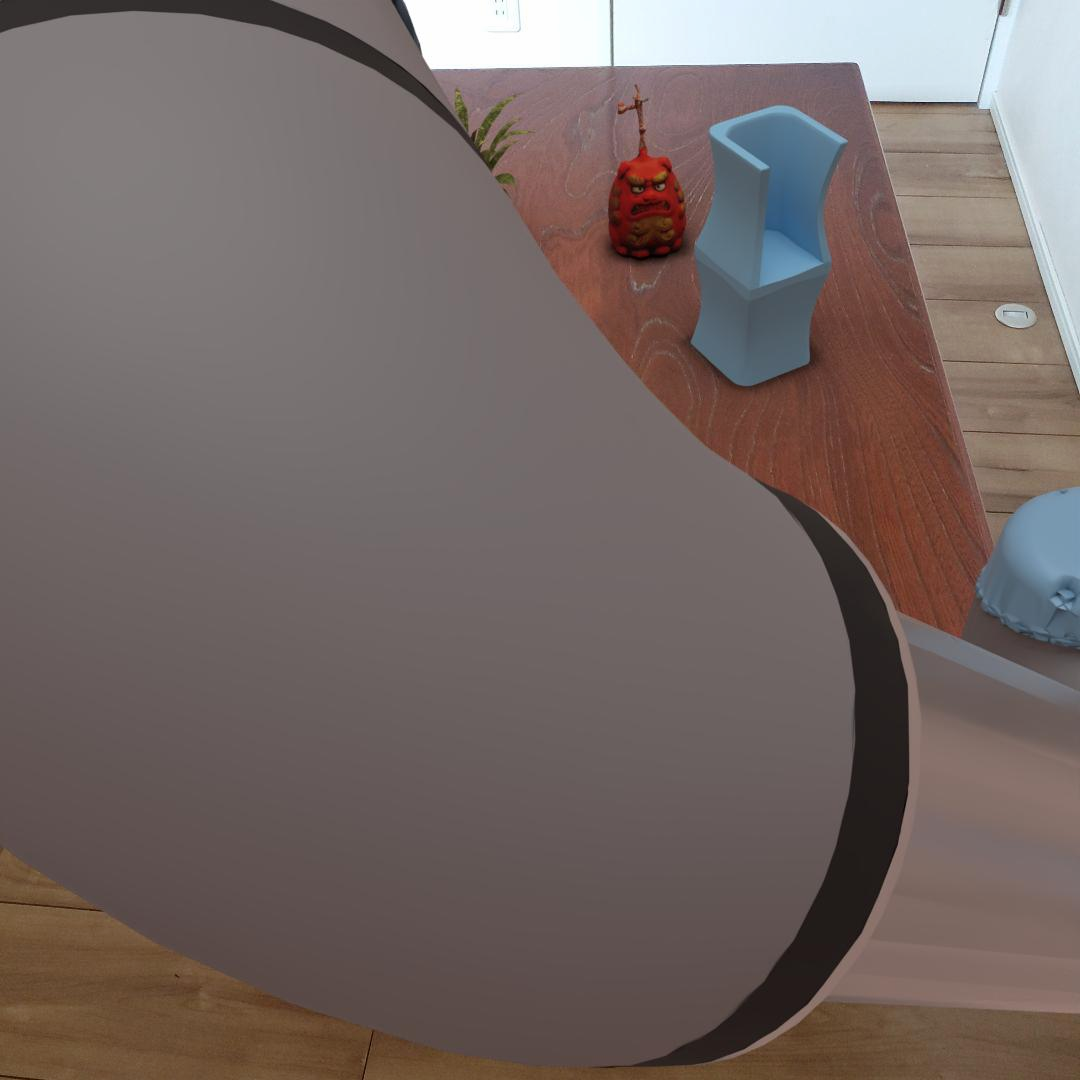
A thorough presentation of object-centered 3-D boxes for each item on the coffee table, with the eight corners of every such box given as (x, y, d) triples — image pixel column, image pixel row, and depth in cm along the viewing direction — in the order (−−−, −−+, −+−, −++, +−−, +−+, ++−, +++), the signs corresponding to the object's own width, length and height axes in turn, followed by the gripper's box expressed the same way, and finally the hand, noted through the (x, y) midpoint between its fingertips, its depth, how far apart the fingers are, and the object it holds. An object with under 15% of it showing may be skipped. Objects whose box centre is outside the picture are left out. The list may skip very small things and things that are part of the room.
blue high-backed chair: (740, 390, 94) (760, 170, 80) (690, 343, 99) (700, 128, 85) (817, 360, 97) (849, 141, 82) (763, 315, 102) (785, 101, 87)
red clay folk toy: (617, 267, 109) (615, 119, 98) (600, 231, 113) (597, 85, 103) (693, 255, 109) (699, 106, 98) (673, 219, 114) (677, 73, 103)
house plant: (570, 233, 113) (564, 73, 102) (528, 310, 104) (516, 144, 93) (440, 217, 117) (419, 61, 105) (388, 290, 108) (359, 128, 96)
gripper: (725, 894, 54) (342, 716, 62) (863, 597, 66) (529, 482, 74) (737, 813, 48) (315, 629, 57) (885, 506, 61) (521, 393, 69)
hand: (437, 546), depth 65 cm, fingers closed on plant pot, 8 cm apart
